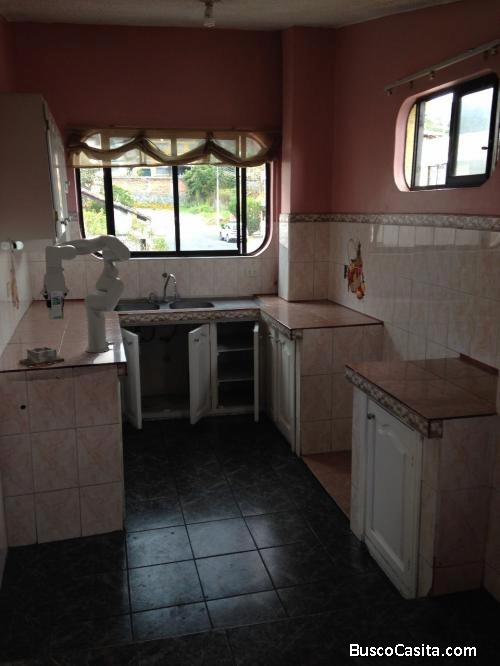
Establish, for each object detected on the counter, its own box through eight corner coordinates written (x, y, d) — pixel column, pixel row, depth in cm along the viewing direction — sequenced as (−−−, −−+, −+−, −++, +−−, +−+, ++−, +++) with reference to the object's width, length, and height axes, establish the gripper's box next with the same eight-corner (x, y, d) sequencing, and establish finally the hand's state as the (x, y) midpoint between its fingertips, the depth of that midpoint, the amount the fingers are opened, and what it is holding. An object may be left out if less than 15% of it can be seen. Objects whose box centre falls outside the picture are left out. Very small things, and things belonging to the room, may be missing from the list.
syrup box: (52, 320, 293) (51, 291, 291) (48, 318, 298) (47, 289, 295) (63, 319, 297) (62, 290, 294) (59, 317, 301) (58, 289, 299)
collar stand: (53, 357, 310) (52, 344, 309) (64, 361, 302) (63, 348, 301) (19, 362, 298) (18, 350, 296) (30, 367, 290) (29, 354, 288)
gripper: (65, 269, 302) (67, 304, 305) (33, 271, 289) (35, 307, 293) (73, 270, 297) (75, 306, 300) (41, 272, 284) (43, 309, 288)
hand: (55, 306), depth 296 cm, fingers closed on syrup box, 6 cm apart
